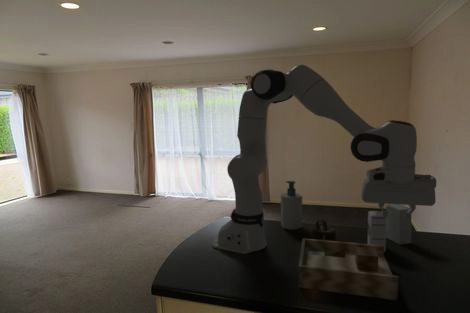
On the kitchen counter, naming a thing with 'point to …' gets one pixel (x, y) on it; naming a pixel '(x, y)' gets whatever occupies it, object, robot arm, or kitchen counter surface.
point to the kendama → (323, 231)
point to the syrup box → (376, 228)
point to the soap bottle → (291, 208)
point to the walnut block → (366, 259)
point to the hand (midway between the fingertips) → (395, 217)
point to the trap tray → (344, 270)
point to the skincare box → (398, 224)
